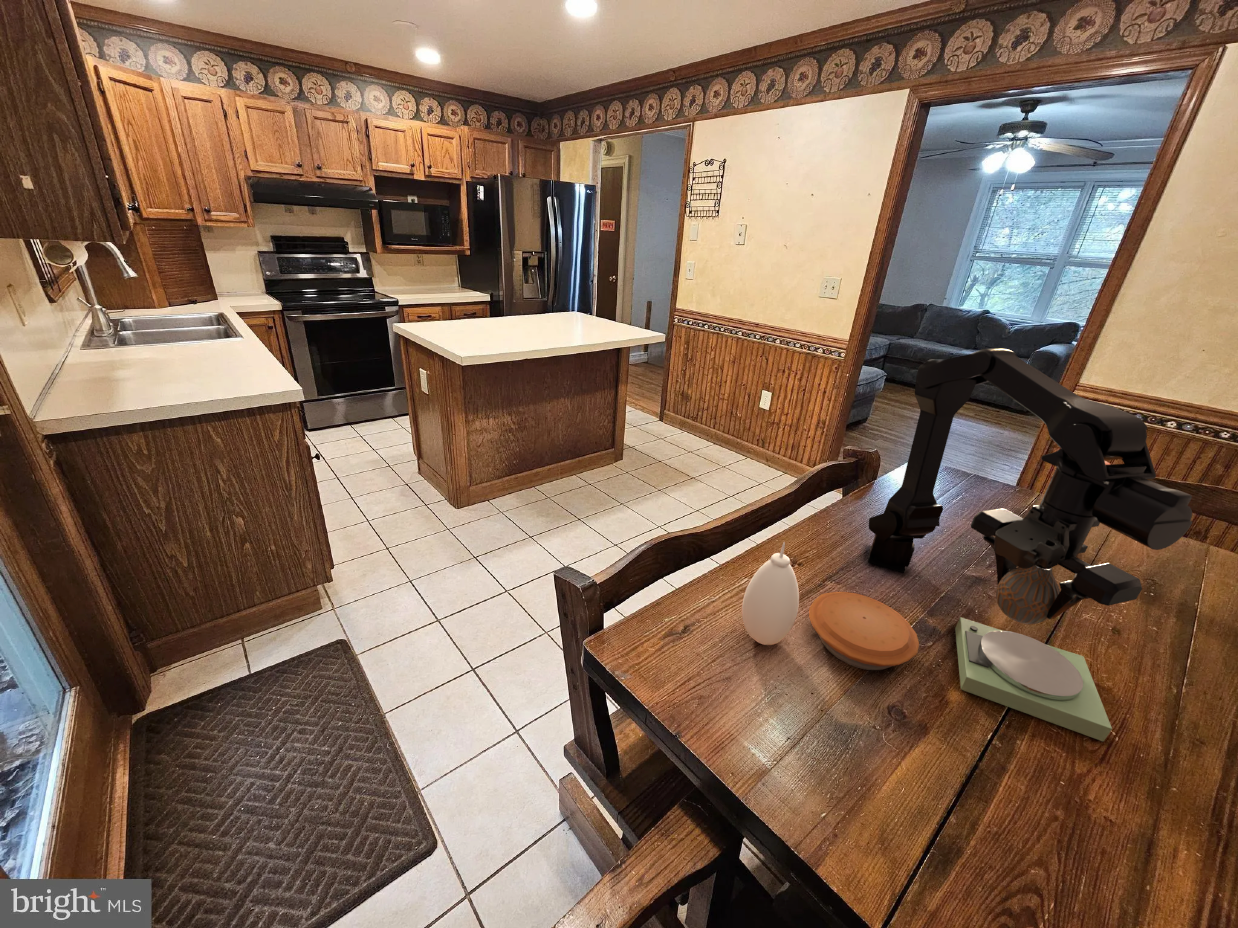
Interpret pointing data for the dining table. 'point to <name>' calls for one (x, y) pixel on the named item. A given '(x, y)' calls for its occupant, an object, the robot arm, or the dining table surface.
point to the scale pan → (1031, 665)
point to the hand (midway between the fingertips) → (1024, 601)
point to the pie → (862, 630)
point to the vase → (1027, 594)
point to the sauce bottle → (771, 600)
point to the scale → (985, 682)
